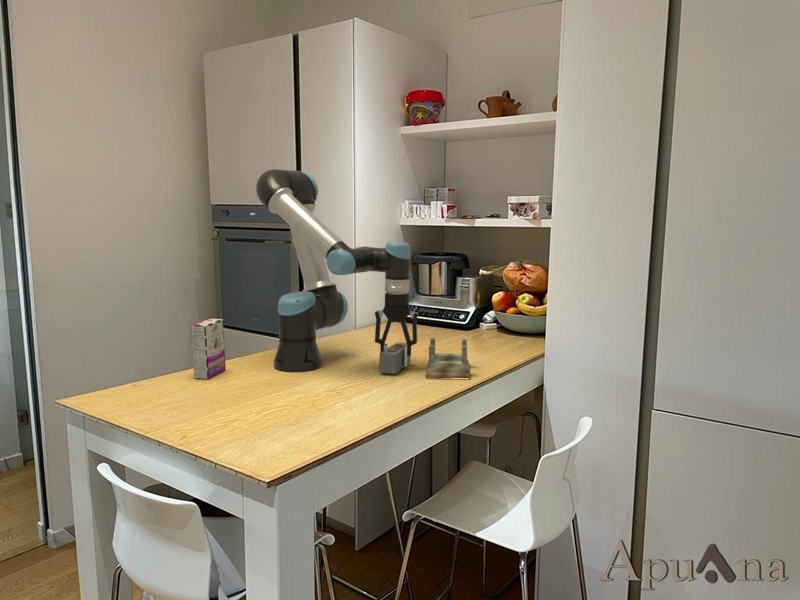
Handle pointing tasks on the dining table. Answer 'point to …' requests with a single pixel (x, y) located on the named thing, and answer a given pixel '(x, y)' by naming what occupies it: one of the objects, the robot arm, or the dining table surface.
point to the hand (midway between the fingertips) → (395, 365)
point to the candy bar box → (208, 348)
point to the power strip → (393, 358)
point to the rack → (447, 363)
